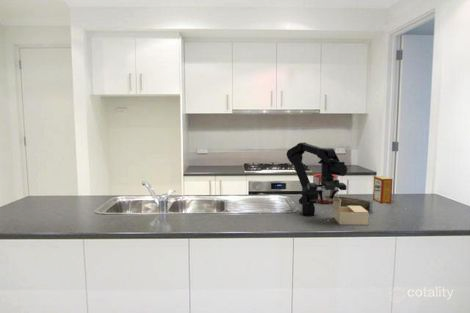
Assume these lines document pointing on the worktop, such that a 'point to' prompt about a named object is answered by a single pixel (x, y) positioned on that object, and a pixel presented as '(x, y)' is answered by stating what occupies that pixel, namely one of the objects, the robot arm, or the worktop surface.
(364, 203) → the beverage carton
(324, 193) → the citrus juicer
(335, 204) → the cabinet door with handle
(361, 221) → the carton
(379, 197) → the baking soda box
